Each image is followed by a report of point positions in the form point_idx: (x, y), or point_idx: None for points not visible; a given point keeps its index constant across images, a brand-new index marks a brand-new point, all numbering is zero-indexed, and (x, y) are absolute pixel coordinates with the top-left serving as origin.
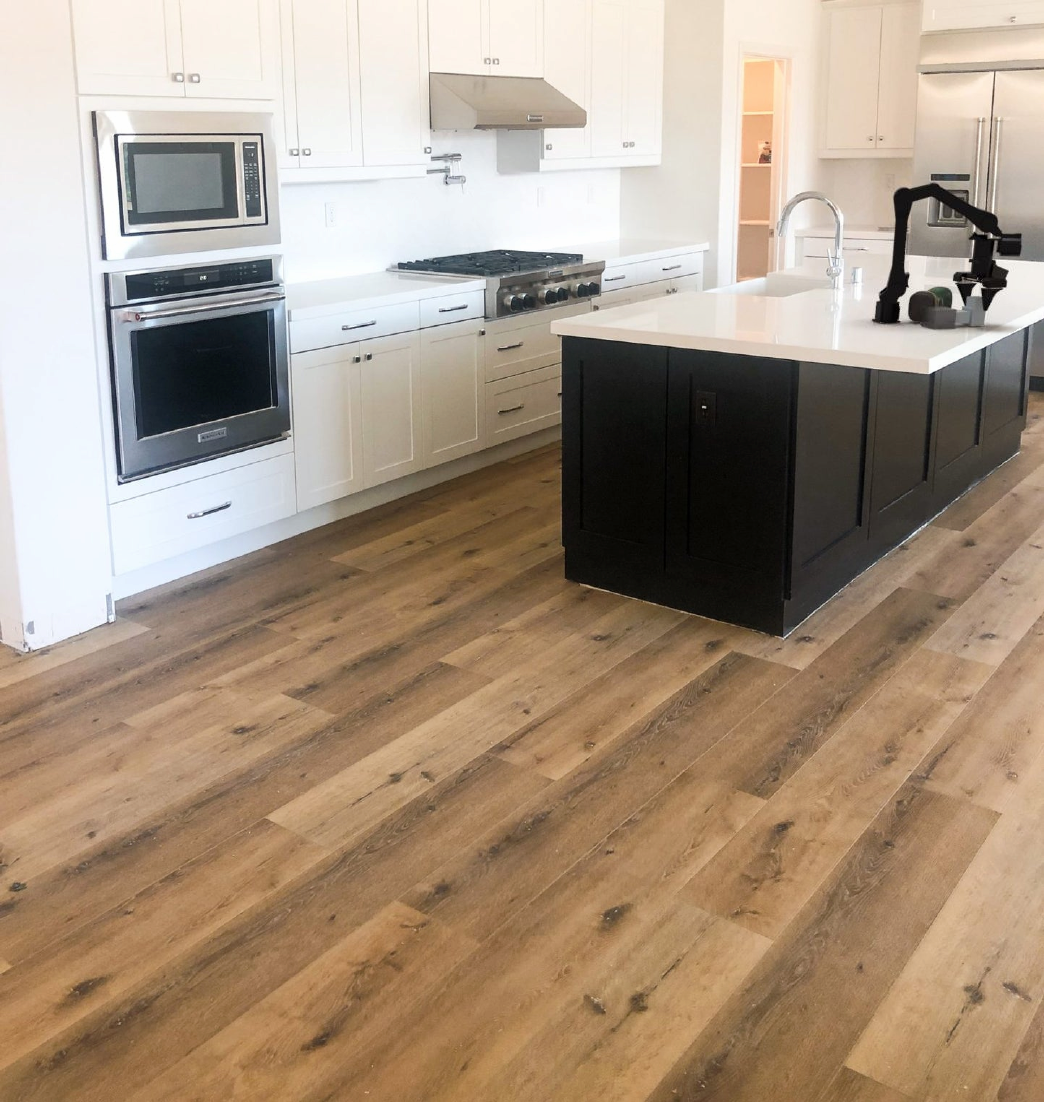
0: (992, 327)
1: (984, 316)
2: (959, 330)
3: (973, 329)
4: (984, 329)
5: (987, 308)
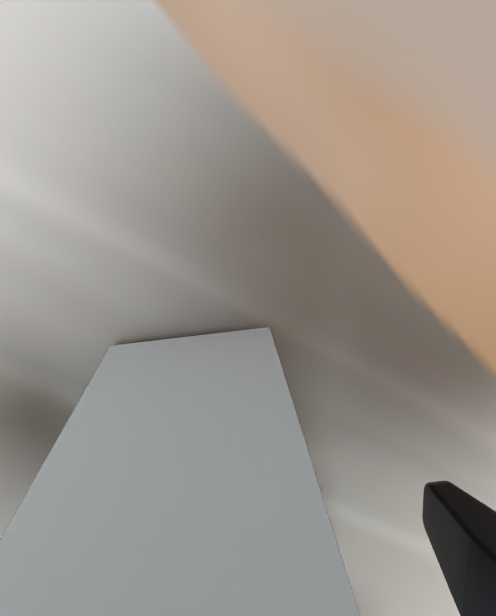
0: (333, 258)
1: (284, 382)
2: (409, 588)
3: (396, 481)
4: (424, 396)
5: (477, 516)
